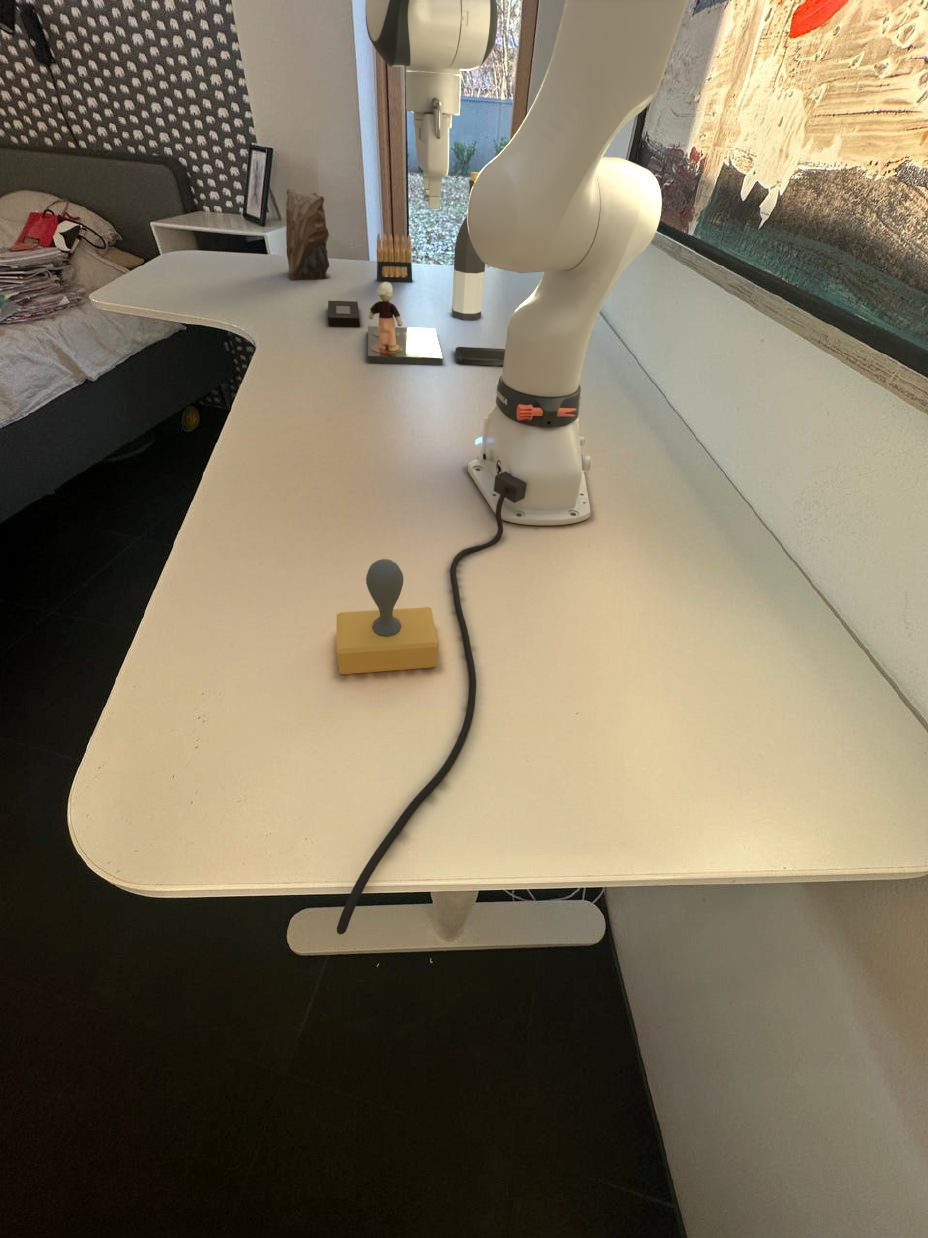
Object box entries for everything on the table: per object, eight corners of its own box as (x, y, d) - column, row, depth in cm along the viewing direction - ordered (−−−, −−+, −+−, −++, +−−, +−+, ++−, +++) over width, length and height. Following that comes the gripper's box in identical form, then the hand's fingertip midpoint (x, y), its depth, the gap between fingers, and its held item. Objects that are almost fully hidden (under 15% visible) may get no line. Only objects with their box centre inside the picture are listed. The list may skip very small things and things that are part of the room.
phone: (455, 346, 125) (519, 349, 126) (454, 351, 126) (519, 354, 127) (457, 358, 119) (524, 361, 121) (457, 364, 120) (524, 366, 122)
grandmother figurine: (405, 347, 121) (405, 281, 112) (401, 352, 118) (400, 286, 110) (372, 342, 122) (369, 277, 113) (367, 348, 119) (363, 281, 110)
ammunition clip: (377, 281, 166) (375, 233, 158) (376, 279, 167) (375, 232, 159) (412, 281, 168) (412, 235, 160) (411, 280, 169) (411, 233, 161)
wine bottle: (447, 317, 144) (454, 171, 124) (455, 309, 150) (462, 169, 129) (477, 321, 143) (488, 175, 123) (484, 313, 149) (495, 172, 128)
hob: (442, 365, 119) (442, 357, 118) (368, 363, 117) (367, 355, 116) (434, 335, 133) (434, 327, 132) (368, 332, 131) (367, 325, 130)
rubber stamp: (430, 629, 61) (433, 541, 52) (437, 669, 57) (441, 580, 48) (339, 635, 59) (328, 545, 51) (339, 676, 55) (327, 586, 47)
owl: (289, 269, 169) (278, 187, 155) (330, 270, 171) (324, 189, 157) (289, 279, 160) (277, 194, 146) (333, 280, 163) (326, 196, 149)
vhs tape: (328, 326, 132) (327, 317, 131) (328, 309, 143) (328, 300, 141) (360, 327, 134) (359, 318, 132) (358, 309, 144) (357, 301, 142)
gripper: (460, 100, 82) (455, 214, 91) (445, 100, 97) (443, 198, 106) (418, 96, 81) (418, 212, 90) (409, 97, 96) (410, 196, 105)
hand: (431, 204), depth 98 cm, fingers open, 8 cm apart
